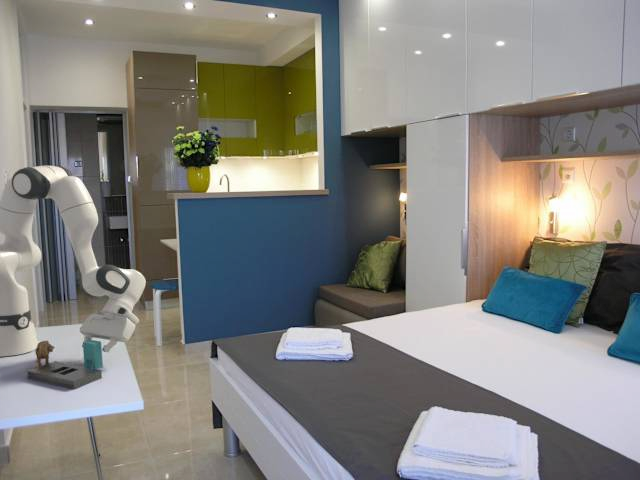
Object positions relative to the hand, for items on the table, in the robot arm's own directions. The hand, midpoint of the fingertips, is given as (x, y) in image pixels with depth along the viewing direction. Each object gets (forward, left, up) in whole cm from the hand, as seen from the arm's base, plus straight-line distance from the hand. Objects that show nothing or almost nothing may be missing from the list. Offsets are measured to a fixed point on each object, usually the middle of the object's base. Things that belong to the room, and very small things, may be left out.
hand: (94, 349), depth 184 cm
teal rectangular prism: (0, -1, -6) cm, 6 cm away
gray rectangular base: (0, -12, -6) cm, 13 cm away
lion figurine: (-19, -5, -6) cm, 20 cm away
